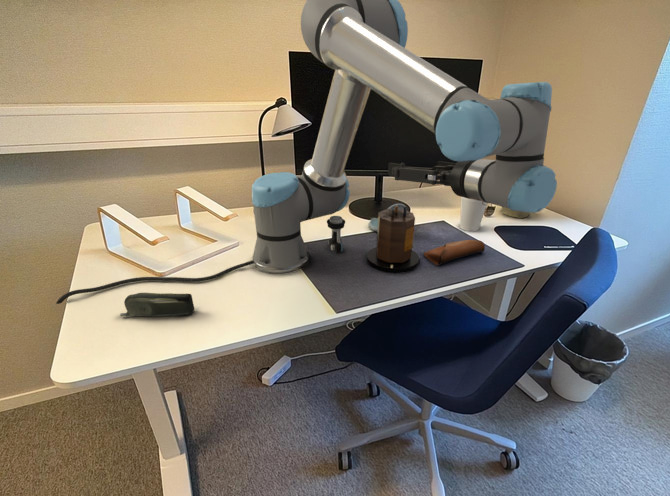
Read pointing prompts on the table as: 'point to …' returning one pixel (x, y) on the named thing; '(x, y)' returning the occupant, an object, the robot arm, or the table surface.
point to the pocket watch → (374, 222)
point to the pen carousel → (395, 235)
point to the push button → (336, 233)
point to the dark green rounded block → (158, 304)
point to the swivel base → (392, 267)
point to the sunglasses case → (454, 251)
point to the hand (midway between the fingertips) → (414, 168)
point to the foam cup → (471, 214)
